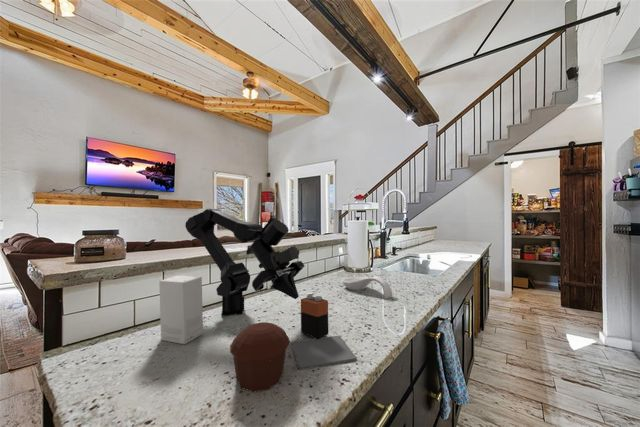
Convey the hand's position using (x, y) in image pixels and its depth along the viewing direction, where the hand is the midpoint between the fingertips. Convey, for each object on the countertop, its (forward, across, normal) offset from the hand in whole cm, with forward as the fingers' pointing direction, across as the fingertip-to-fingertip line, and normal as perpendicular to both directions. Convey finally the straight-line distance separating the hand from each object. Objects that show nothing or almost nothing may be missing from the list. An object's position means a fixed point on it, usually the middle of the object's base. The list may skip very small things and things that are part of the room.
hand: (297, 297), depth 72 cm
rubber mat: (+15, -7, -2) cm, 16 cm away
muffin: (+10, -21, +3) cm, 24 cm away
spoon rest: (+10, +44, +3) cm, 46 cm away
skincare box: (-10, -19, +23) cm, 32 cm away
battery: (+10, -1, +2) cm, 11 cm away
